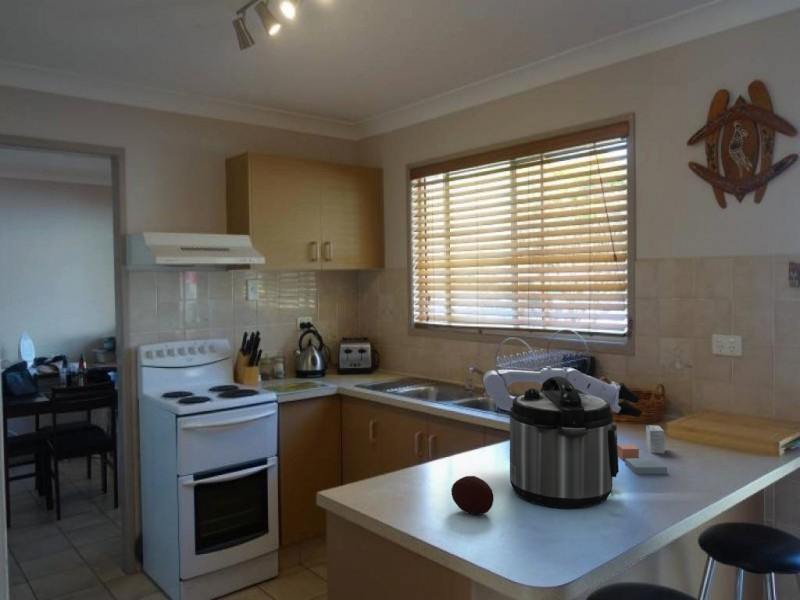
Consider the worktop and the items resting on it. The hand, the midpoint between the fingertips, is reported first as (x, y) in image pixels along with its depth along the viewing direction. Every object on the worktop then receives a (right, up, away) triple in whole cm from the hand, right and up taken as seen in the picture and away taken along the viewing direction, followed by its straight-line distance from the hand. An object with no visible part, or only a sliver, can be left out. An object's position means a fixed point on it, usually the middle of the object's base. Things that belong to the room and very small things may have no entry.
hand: (639, 407), depth 200 cm
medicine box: (+8, -17, +8) cm, 20 cm away
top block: (-3, -16, -13) cm, 21 cm away
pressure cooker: (-31, -19, -29) cm, 47 cm away
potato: (-58, -19, -42) cm, 74 cm away
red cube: (-4, -17, -1) cm, 18 cm away
